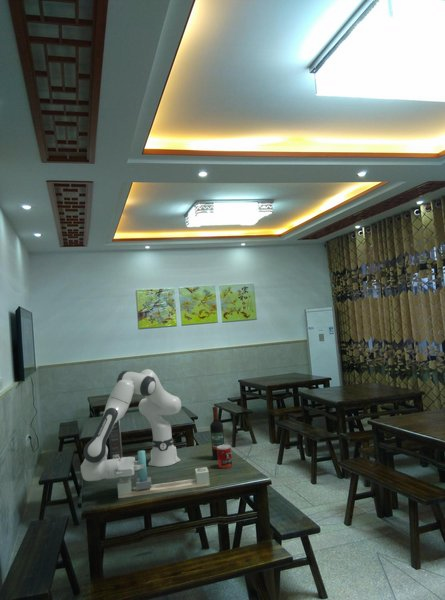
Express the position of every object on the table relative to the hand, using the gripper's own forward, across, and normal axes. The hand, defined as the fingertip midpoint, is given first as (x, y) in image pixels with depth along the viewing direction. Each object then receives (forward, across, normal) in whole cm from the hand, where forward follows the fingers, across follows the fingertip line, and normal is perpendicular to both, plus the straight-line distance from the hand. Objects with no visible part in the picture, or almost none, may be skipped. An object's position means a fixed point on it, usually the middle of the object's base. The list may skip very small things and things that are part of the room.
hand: (144, 464), depth 222 cm
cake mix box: (-18, +54, +13) cm, 58 cm away
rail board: (+9, 0, +13) cm, 16 cm away
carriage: (-1, 0, +11) cm, 11 cm away
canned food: (+43, +22, +13) cm, 50 cm away
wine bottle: (+42, +39, +13) cm, 59 cm away
